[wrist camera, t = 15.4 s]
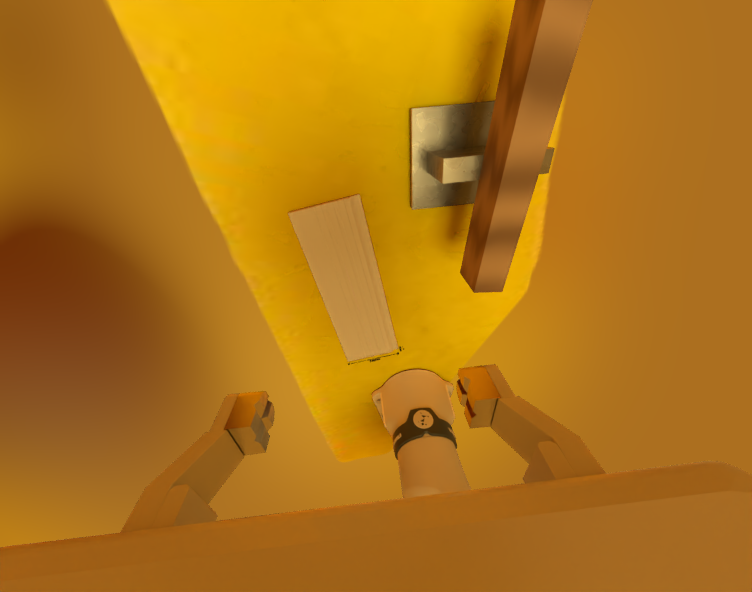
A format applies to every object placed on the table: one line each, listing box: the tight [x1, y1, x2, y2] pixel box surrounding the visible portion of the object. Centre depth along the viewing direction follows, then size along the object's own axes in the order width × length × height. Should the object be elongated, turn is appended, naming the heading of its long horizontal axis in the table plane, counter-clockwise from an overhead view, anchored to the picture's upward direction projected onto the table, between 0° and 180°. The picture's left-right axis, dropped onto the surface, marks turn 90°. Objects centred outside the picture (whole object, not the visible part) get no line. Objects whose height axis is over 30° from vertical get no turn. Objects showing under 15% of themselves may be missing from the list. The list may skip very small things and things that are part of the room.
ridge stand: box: [410, 101, 554, 210], centre depth 34 cm, size 12×16×9 cm
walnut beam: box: [460, 0, 593, 293], centre depth 28 cm, size 26×4×5 cm, turn 179°
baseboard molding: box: [288, 194, 404, 365], centre depth 47 cm, size 31×3×12 cm
